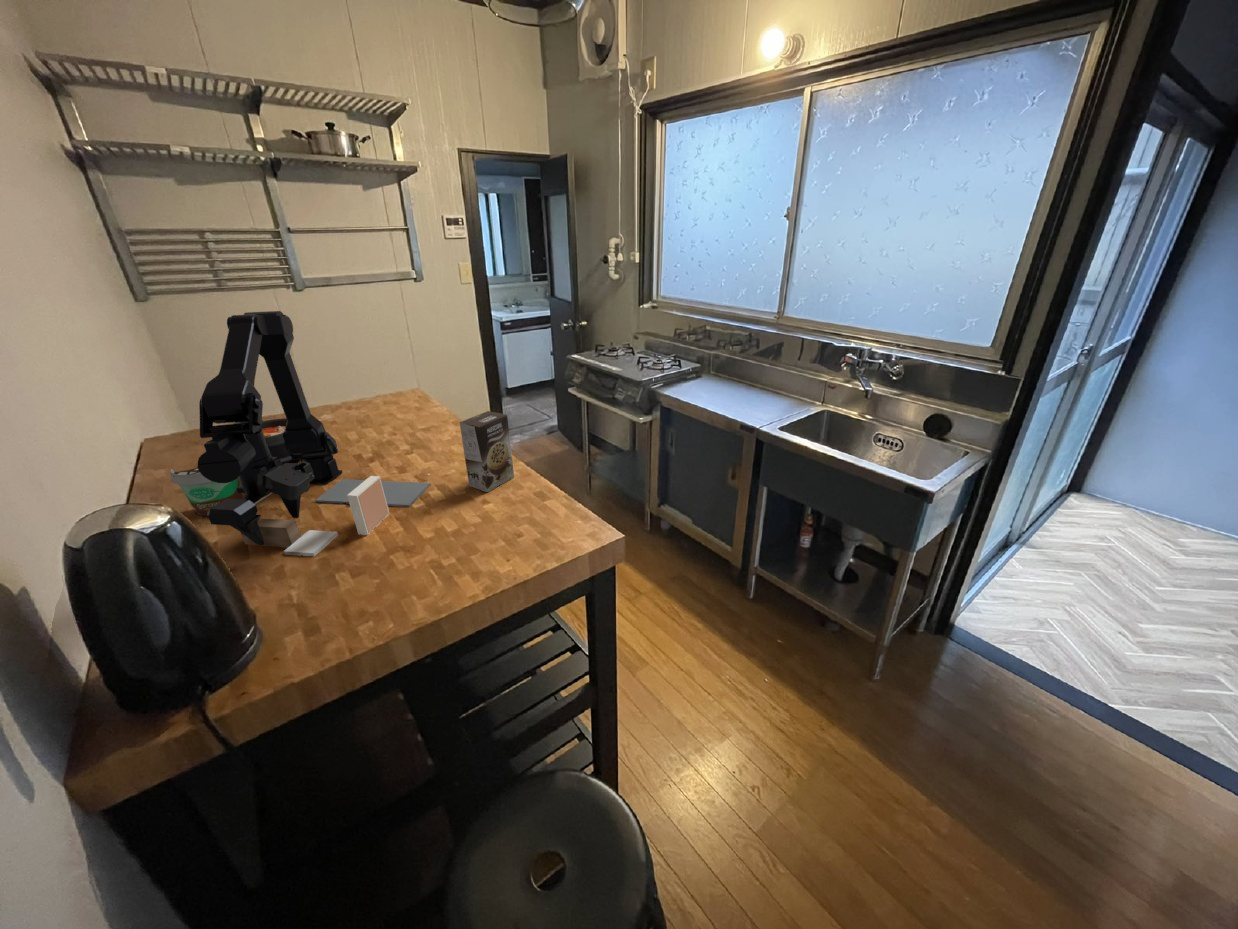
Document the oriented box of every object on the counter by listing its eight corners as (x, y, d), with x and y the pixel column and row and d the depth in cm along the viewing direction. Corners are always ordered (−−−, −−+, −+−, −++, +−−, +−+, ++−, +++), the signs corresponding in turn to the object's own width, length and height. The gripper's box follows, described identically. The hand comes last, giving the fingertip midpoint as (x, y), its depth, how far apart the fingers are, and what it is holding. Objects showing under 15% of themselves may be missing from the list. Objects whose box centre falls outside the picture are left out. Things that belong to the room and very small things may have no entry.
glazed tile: (358, 534, 97) (346, 495, 93) (380, 513, 104) (370, 475, 100) (368, 535, 97) (357, 495, 93) (389, 513, 104) (380, 476, 100)
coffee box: (488, 493, 111) (478, 427, 104) (468, 486, 115) (457, 421, 107) (515, 477, 118) (508, 414, 111) (496, 471, 121) (487, 409, 114)
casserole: (315, 434, 144) (307, 407, 140) (340, 452, 133) (332, 423, 129) (212, 463, 128) (199, 433, 124) (230, 485, 116) (217, 453, 113)
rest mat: (315, 502, 109) (315, 500, 108) (343, 480, 118) (342, 479, 117) (409, 506, 106) (409, 504, 106) (430, 484, 115) (430, 483, 115)
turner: (236, 551, 93) (227, 531, 91) (264, 530, 99) (256, 511, 97) (314, 556, 91) (307, 536, 89) (338, 535, 97) (332, 515, 95)
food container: (180, 524, 101) (159, 481, 97) (187, 510, 106) (168, 469, 102) (251, 509, 106) (234, 468, 102) (255, 496, 111) (239, 456, 107)
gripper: (251, 484, 78) (282, 563, 85) (327, 438, 94) (348, 507, 101) (188, 481, 79) (224, 559, 86) (274, 436, 96) (298, 504, 102)
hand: (279, 530), depth 94 cm, fingers open, 9 cm apart
